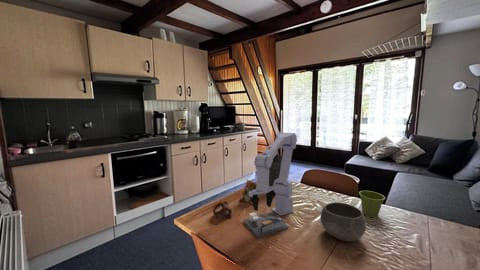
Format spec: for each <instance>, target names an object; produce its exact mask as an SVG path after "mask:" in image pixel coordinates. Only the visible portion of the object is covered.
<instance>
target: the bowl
mask: <svg viewBox="0 0 480 270" xmlns="http://www.w3.org/2000/svg"><path fill="white" fill-rule="evenodd" d="M320 223H321V225H322V227H323V229H324V231H326V232H327V233H328V234H329V235H330V236H332V237H334V238H336V239H338V240H340V241H343V242H354V241H357V240H359V239H361V238H363V236H364V234H365V232H366V228H367V227H366V225H367V224H366V223H367V222H366V218H365V215H364V214H363V213H362V209H359V208H358V207H356V206H354V205H352V204H348V203H345V202H329V203H327V204H325V205H324V206H323V207H322V210H321V212H320Z"/></svg>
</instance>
